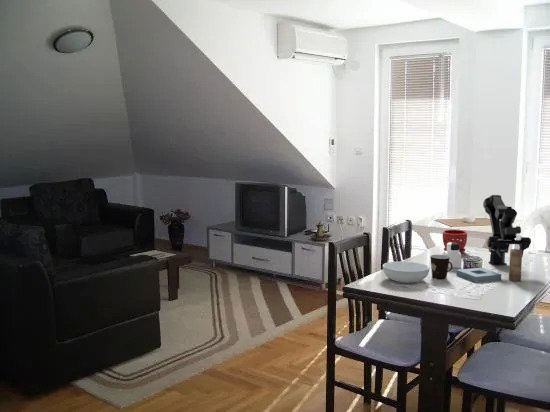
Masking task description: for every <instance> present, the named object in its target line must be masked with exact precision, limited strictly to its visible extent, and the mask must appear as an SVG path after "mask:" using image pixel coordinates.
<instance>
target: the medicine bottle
mask: <svg viewBox="0 0 550 412" xmlns="http://www.w3.org/2000/svg"><path fill="white" fill-rule="evenodd" d="M443 251H444V250H443ZM462 254H463V253H462ZM462 254H461V253H460V252H459V244H458V243H455V242H449V243H447V251H444V253H443V255H446V256H449V257H450V258H449V262H451V263H452V269H457V268H458V269H460V268H462ZM449 268H450V269H451V264H450V263H449V265H448V269H449Z"/></svg>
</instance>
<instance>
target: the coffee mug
mask: <svg viewBox="0 0 550 412" xmlns="http://www.w3.org/2000/svg"><path fill="white" fill-rule="evenodd" d="M449 258H450V257H449V256H446V255H444V254H430V266H431V267H430V270H431V278H432V279H434V280H446V279H447V277H448V276H447V275H448V273H449V272H451V271H452V269H453V268H452V263H451V262H449ZM449 263H450V264H451V268H450V269H449V268H448V265H449Z"/></svg>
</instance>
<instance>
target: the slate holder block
mask: <svg viewBox="0 0 550 412" xmlns="http://www.w3.org/2000/svg"><path fill="white" fill-rule="evenodd" d="M456 276H458V277H461V278H462V279H465V280H469V281H471V282H473V283H481V282H482V281H484V282H491V281H499V280H500V281H502V273H498V272H496V271H493V270H489V269H487V268H483V267H476V268H475V267H474V268H473V267H472V268H464V269H456Z"/></svg>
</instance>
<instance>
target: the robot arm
mask: <svg viewBox="0 0 550 412" xmlns="http://www.w3.org/2000/svg"><path fill="white" fill-rule="evenodd" d="M482 206H483V208H484V211H485V213H486V214H488V216H489V220H490V226H491V232H492V235H491V236H488V239H487V243H486V244H487V248H488V252H490V256H489V261H488V263H489V264H492V265H495V266H503V265H508V263H506V262H505V260H506V254H508V253H509V249H510V246H511V245H519V250H522V258H523V257H524V256H523V255H524V251H525V250H527V249H528V248H530V246H531V243H532V239H531V237H529V236H523V237H520V239H517V235H518V234H519V235H520V234H521V233H522V228H521V226H519V225H517V226H514V227H513V224H514V222H515V220H516V218H517V215H518V212H517V211H516V209H514V208H512V206H507V205H506V204H505V203H504V201H503V199H502V195H500V194H492V195H490V196H488V197H487V198H485V199H484V200H483V204H482Z"/></svg>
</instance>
